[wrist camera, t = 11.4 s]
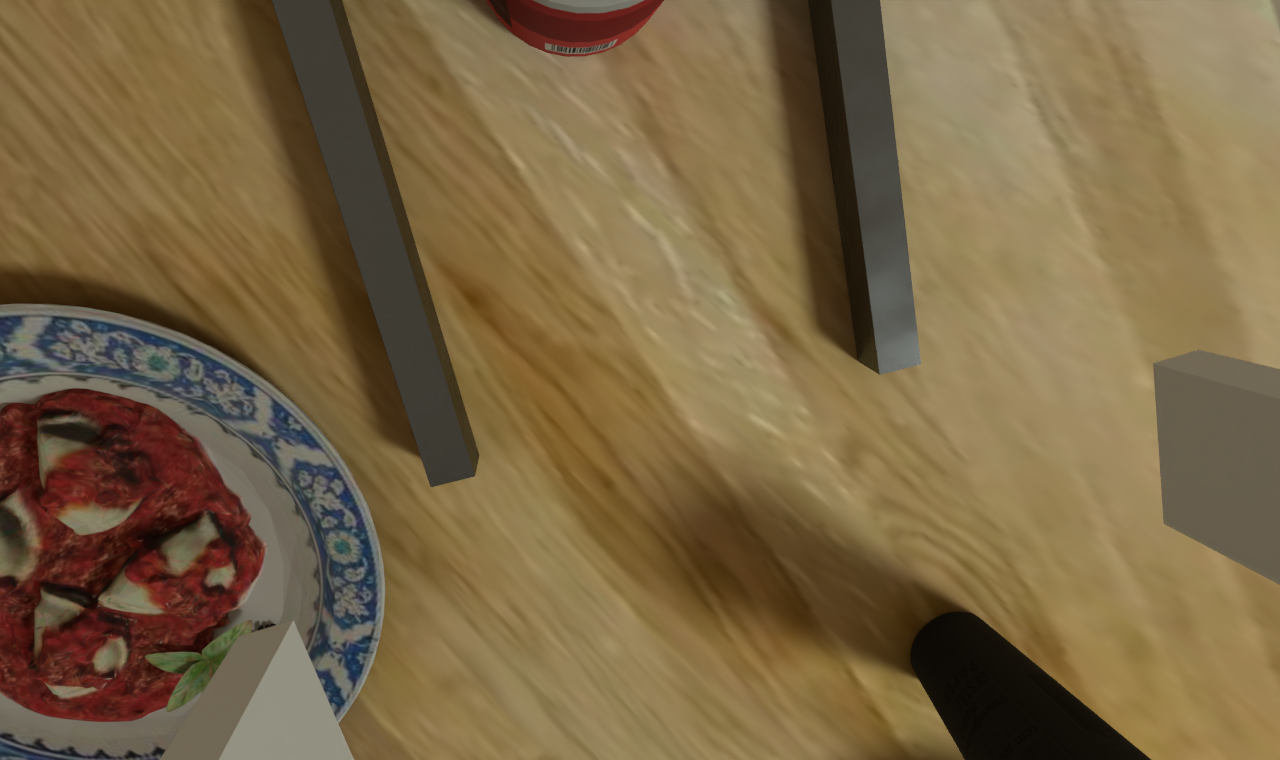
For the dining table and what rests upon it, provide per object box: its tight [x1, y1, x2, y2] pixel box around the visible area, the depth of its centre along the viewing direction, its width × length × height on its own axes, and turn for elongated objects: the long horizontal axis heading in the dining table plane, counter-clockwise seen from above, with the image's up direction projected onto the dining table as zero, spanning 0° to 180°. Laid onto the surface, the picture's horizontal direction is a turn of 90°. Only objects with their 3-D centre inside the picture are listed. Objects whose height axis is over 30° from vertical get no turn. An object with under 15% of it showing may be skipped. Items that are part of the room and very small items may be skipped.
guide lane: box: [272, 0, 921, 487], centre depth 30 cm, size 23×26×6 cm
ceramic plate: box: [0, 304, 385, 760], centre depth 35 cm, size 26×26×3 cm
